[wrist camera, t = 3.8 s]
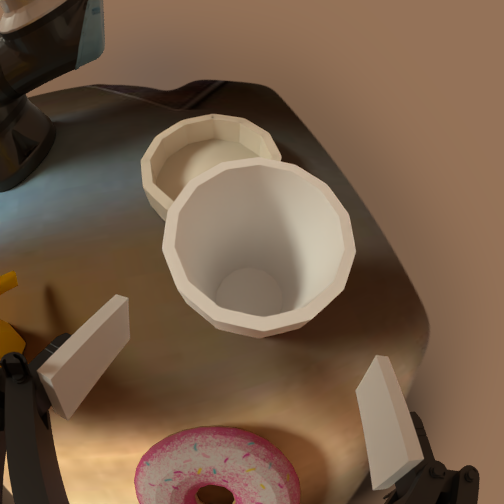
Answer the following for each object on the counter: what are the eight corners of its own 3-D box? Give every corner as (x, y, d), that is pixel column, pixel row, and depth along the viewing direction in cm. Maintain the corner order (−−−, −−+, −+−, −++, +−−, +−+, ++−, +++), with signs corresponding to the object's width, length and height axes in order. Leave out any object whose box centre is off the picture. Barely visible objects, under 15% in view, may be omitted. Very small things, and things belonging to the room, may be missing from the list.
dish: (146, 154, 32) (138, 131, 28) (253, 131, 34) (254, 107, 31) (159, 252, 27) (148, 232, 23) (293, 218, 29) (301, 195, 25)
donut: (225, 391, 22) (222, 396, 17) (324, 484, 18) (342, 504, 14) (117, 467, 18) (94, 481, 13) (215, 554, 14) (212, 580, 9)
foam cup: (285, 245, 28) (318, 151, 16) (312, 337, 24) (381, 298, 12) (188, 264, 26) (156, 174, 15) (207, 362, 23) (176, 349, 11)
